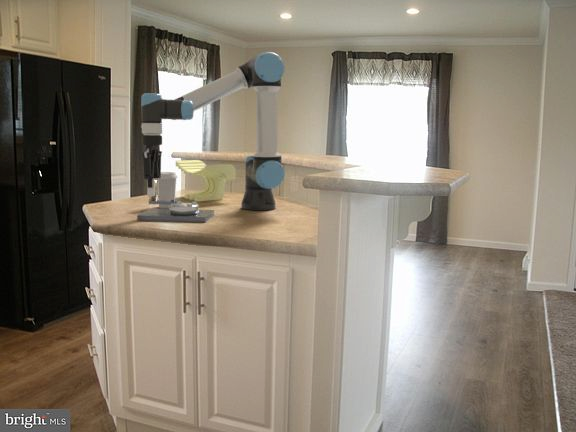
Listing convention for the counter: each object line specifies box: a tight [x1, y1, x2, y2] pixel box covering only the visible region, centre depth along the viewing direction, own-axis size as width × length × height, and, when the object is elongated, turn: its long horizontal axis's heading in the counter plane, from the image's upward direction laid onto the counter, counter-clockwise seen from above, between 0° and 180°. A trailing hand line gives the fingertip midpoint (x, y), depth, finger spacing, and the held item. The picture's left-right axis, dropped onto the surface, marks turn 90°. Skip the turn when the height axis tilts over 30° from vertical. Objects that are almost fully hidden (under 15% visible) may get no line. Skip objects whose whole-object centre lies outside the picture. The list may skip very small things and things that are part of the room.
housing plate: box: [136, 208, 215, 223], centre depth 214 cm, size 26×17×2 cm, turn 87°
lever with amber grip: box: [148, 180, 200, 215], centre depth 213 cm, size 20×11×12 cm, turn 83°
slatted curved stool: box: [175, 159, 237, 202], centre depth 267 cm, size 30×16×18 cm, turn 39°
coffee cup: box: [157, 171, 178, 209], centre depth 238 cm, size 10×10×15 cm
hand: (153, 195), depth 214 cm, fingers closed on lever with amber grip, 3 cm apart
